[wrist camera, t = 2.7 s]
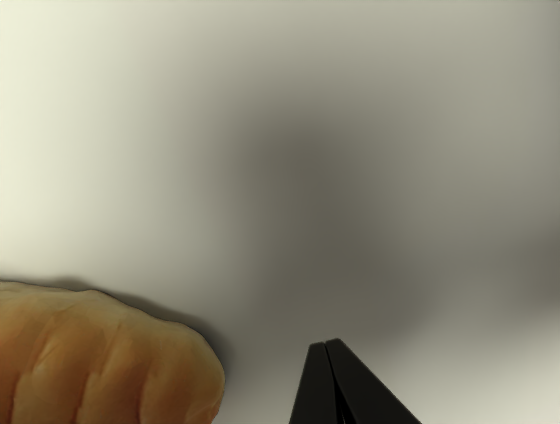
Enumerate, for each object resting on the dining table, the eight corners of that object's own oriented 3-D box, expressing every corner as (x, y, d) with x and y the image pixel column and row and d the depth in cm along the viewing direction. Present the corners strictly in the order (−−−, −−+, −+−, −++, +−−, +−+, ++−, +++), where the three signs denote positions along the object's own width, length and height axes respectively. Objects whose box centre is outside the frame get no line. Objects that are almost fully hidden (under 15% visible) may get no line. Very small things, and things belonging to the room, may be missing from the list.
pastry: (230, 275, 9) (206, 381, 5) (228, 424, 11) (209, 572, 8) (-87, 263, 8) (-355, 374, 5) (-25, 423, 11) (-178, 583, 7)
